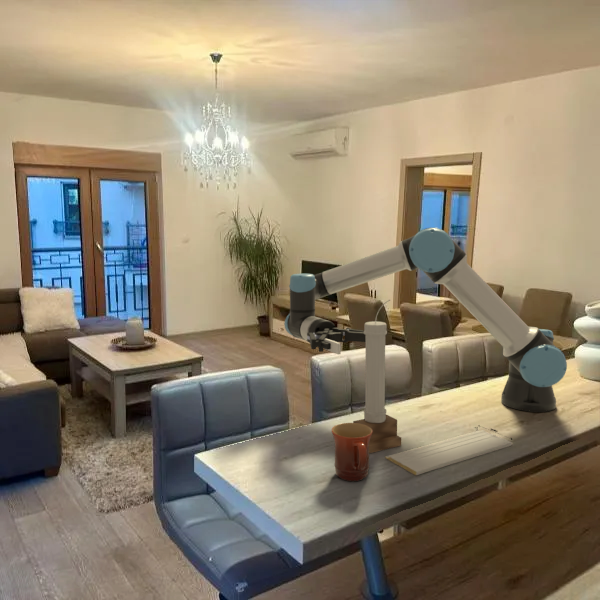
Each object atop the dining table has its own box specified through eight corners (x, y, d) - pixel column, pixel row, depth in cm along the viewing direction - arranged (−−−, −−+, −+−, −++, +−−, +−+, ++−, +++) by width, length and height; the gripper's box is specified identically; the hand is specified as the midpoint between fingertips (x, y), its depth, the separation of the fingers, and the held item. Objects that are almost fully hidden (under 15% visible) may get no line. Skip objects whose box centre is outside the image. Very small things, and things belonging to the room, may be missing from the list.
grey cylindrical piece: (363, 415, 136) (363, 297, 132) (388, 416, 136) (389, 297, 132) (363, 423, 131) (364, 301, 127) (390, 424, 130) (391, 301, 126)
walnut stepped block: (381, 434, 140) (381, 412, 139) (401, 445, 133) (401, 422, 132) (349, 442, 135) (349, 419, 134) (367, 453, 128) (368, 429, 127)
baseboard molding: (381, 458, 127) (416, 478, 117) (381, 446, 127) (416, 465, 116) (473, 431, 142) (512, 448, 132) (474, 421, 142) (512, 436, 132)
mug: (326, 468, 120) (326, 424, 119) (364, 464, 122) (364, 421, 121) (342, 494, 109) (342, 445, 107) (383, 489, 110) (384, 441, 109)
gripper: (355, 340, 160) (401, 354, 142) (279, 349, 148) (319, 366, 130) (355, 315, 159) (401, 326, 141) (279, 322, 147) (319, 336, 129)
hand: (362, 345), depth 135 cm, fingers open, 13 cm apart
